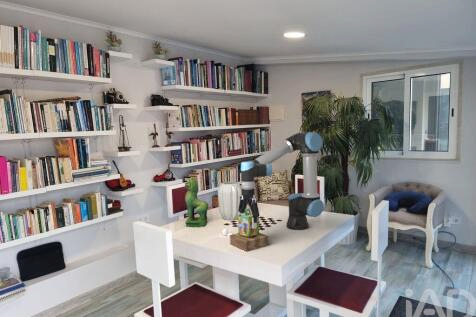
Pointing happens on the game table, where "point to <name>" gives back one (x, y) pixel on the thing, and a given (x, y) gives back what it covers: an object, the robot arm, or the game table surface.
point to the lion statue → (195, 205)
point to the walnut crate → (249, 241)
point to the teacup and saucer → (225, 233)
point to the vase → (229, 200)
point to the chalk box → (247, 225)
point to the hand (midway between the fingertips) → (248, 226)
